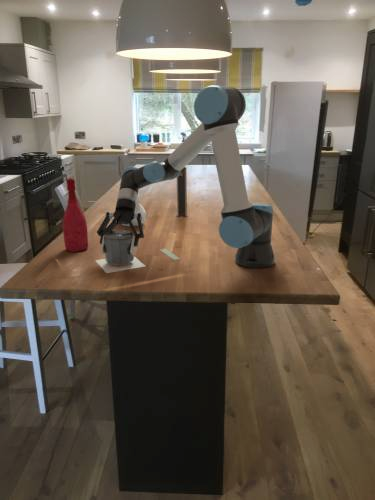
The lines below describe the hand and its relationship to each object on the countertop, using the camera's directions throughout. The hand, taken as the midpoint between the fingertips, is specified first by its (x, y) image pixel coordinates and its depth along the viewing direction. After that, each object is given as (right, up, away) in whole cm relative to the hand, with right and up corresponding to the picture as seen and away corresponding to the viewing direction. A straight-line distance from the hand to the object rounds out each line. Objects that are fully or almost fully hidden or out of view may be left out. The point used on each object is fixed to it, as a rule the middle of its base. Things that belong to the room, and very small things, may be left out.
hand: (116, 253), depth 150 cm
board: (0, -5, +5) cm, 7 cm away
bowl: (0, -4, +4) cm, 6 cm away
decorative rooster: (-3, +13, +59) cm, 60 cm away
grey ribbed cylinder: (0, -2, +4) cm, 5 cm away
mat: (+14, -2, +13) cm, 19 cm away
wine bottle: (-21, +1, +24) cm, 32 cm away
